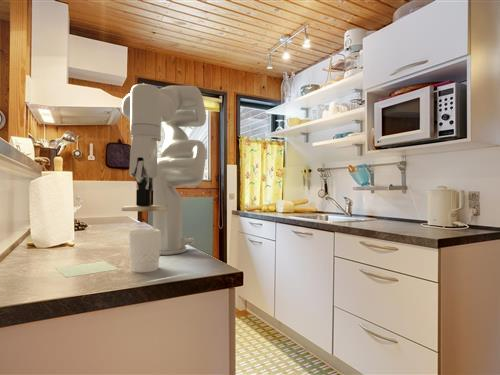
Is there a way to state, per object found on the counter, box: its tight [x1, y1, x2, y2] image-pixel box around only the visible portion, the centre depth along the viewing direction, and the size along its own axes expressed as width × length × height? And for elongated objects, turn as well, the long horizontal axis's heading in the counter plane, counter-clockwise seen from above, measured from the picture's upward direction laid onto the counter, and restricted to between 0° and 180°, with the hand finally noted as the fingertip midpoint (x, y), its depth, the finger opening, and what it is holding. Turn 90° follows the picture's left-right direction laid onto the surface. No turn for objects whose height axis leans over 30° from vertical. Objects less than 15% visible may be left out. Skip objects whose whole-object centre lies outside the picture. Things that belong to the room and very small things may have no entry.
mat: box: [55, 260, 119, 278], centre depth 80 cm, size 12×12×1 cm
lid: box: [121, 191, 167, 212], centre depth 80 cm, size 11×11×5 cm
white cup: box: [128, 229, 161, 273], centre depth 80 cm, size 8×8×10 cm
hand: (145, 204), depth 80 cm, fingers closed on lid, 3 cm apart
